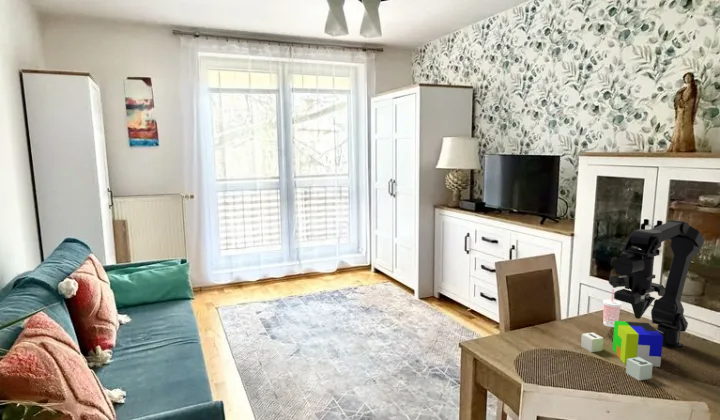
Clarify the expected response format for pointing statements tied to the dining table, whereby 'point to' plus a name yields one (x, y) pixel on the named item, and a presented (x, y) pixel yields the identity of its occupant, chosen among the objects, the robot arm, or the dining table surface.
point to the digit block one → (592, 342)
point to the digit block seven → (639, 368)
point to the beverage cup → (611, 311)
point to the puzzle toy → (637, 342)
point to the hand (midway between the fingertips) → (637, 318)
